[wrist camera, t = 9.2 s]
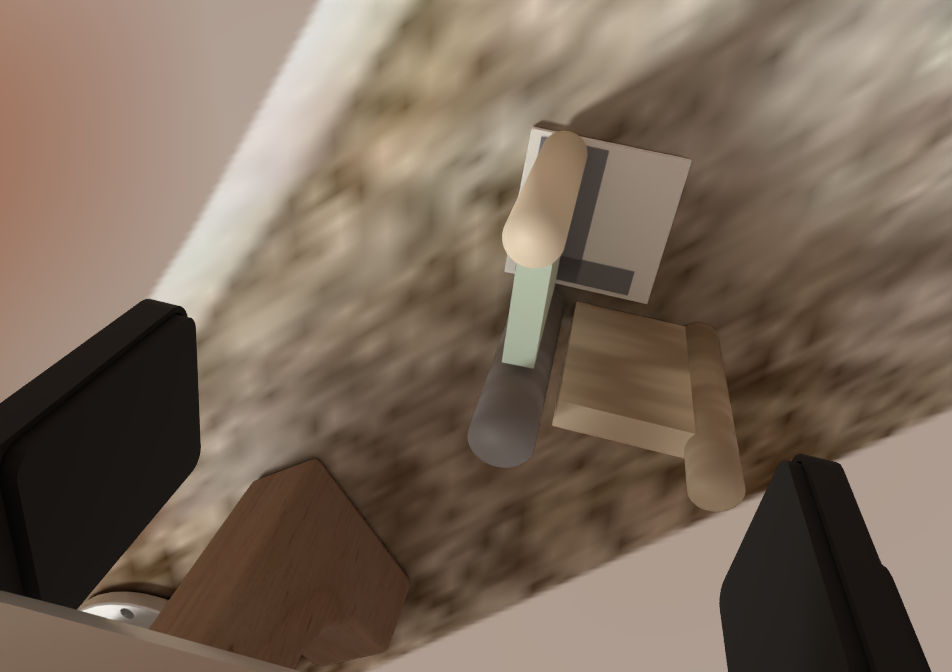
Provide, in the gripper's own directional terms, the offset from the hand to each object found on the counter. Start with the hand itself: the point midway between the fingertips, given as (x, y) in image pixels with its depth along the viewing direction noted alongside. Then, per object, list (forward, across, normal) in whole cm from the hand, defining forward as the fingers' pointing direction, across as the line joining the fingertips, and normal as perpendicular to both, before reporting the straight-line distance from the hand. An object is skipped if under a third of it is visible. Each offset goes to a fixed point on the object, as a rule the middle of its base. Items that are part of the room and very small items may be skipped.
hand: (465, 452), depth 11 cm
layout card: (+17, -2, +2) cm, 17 cm away
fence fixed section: (+17, -3, +6) cm, 18 cm away
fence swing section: (+16, 0, +1) cm, 16 cm away
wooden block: (+18, +7, +21) cm, 29 cm away
